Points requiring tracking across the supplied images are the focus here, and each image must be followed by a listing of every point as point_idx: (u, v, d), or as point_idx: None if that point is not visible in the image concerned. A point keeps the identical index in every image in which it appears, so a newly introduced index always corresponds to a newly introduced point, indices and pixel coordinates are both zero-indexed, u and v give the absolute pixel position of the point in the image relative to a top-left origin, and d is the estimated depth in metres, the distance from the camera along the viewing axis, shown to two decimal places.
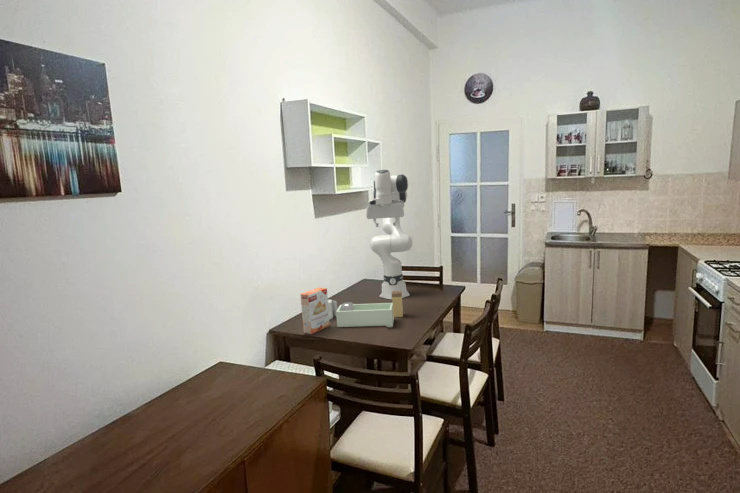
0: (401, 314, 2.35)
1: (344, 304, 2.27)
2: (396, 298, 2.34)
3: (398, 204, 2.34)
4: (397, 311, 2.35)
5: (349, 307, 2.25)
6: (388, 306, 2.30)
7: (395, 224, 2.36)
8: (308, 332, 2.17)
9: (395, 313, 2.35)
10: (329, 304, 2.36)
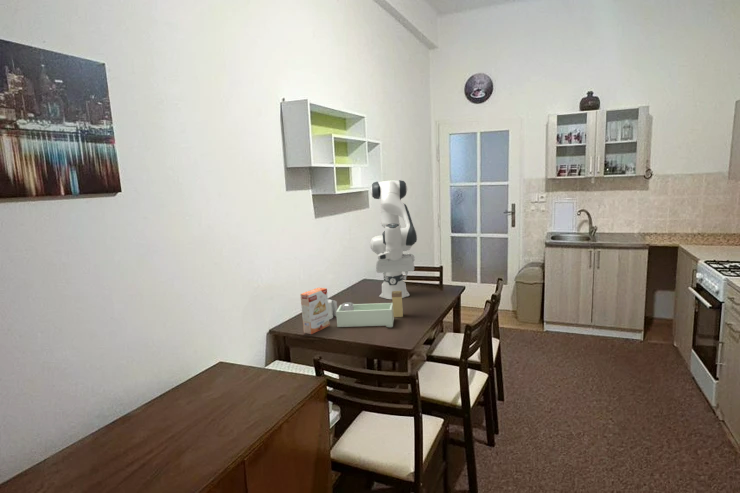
0: (401, 314, 2.35)
1: (344, 304, 2.27)
2: (396, 298, 2.34)
3: (408, 258, 2.30)
4: (397, 311, 2.35)
5: (349, 307, 2.25)
6: (388, 306, 2.30)
7: (405, 278, 2.33)
8: (308, 332, 2.17)
9: (395, 313, 2.35)
10: (329, 304, 2.36)
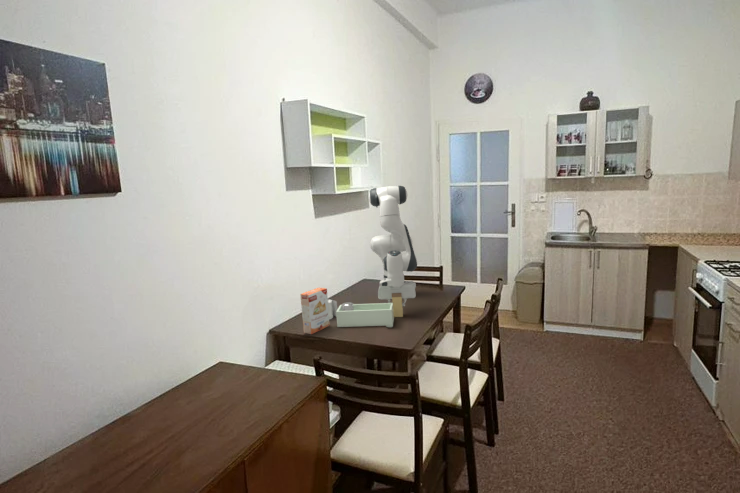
0: (401, 314, 2.35)
1: (344, 304, 2.27)
2: (396, 298, 2.34)
3: (410, 285, 2.33)
4: (397, 311, 2.35)
5: (349, 307, 2.25)
6: (388, 306, 2.30)
7: (404, 305, 2.36)
8: (308, 332, 2.17)
9: (395, 313, 2.35)
10: (329, 304, 2.36)
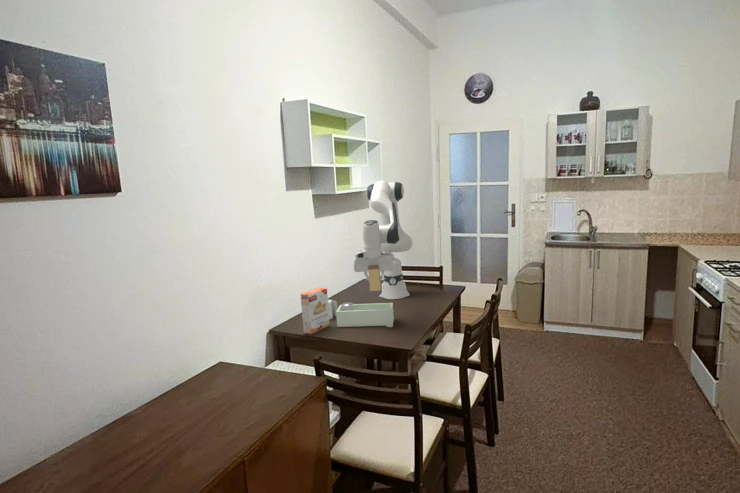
0: (378, 288, 2.21)
1: (344, 304, 2.27)
2: (373, 270, 2.20)
3: (387, 257, 2.19)
4: (374, 284, 2.21)
5: (349, 307, 2.25)
6: (388, 306, 2.30)
7: (381, 278, 2.22)
8: (308, 332, 2.17)
9: (372, 286, 2.22)
10: (329, 304, 2.36)
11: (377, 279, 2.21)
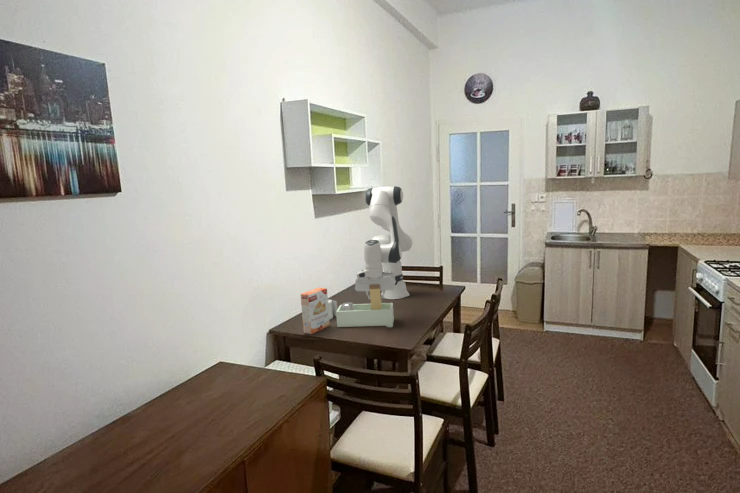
0: (379, 307, 2.23)
1: (344, 304, 2.27)
2: (374, 290, 2.22)
3: (388, 277, 2.21)
4: (375, 303, 2.23)
5: (349, 307, 2.25)
6: (388, 306, 2.30)
7: (382, 297, 2.24)
8: (308, 332, 2.17)
9: (373, 306, 2.23)
10: (329, 304, 2.36)
11: (378, 298, 2.22)
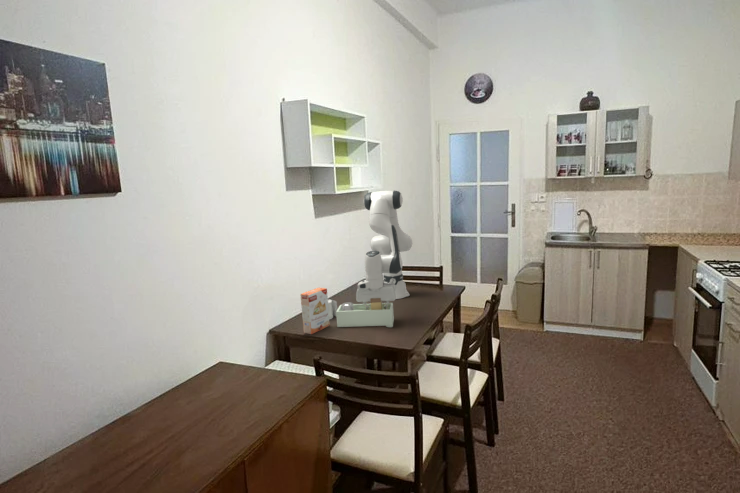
0: None
1: (344, 304, 2.27)
2: (375, 303, 2.23)
3: (389, 288, 2.22)
4: None
5: (349, 307, 2.25)
6: (388, 306, 2.30)
7: (386, 308, 2.25)
8: (308, 332, 2.17)
9: None
10: (329, 304, 2.36)
11: None
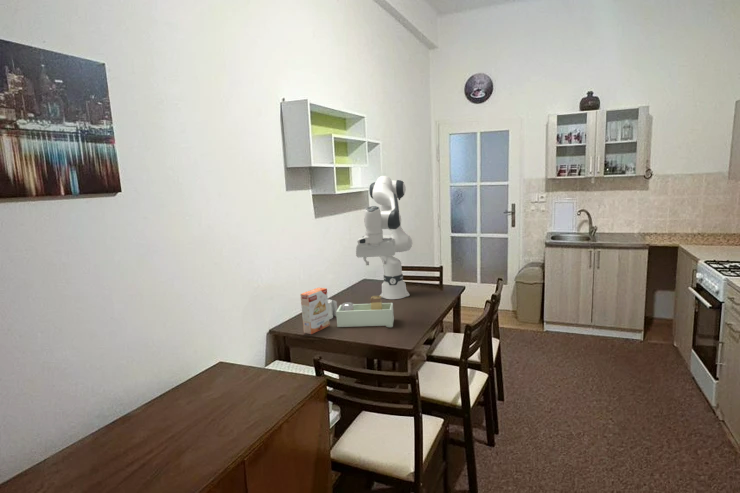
0: None
1: (344, 304, 2.27)
2: (375, 303, 2.23)
3: (389, 242, 2.24)
4: None
5: (349, 307, 2.25)
6: (388, 306, 2.30)
7: (386, 263, 2.27)
8: (308, 332, 2.17)
9: None
10: (329, 304, 2.36)
11: None
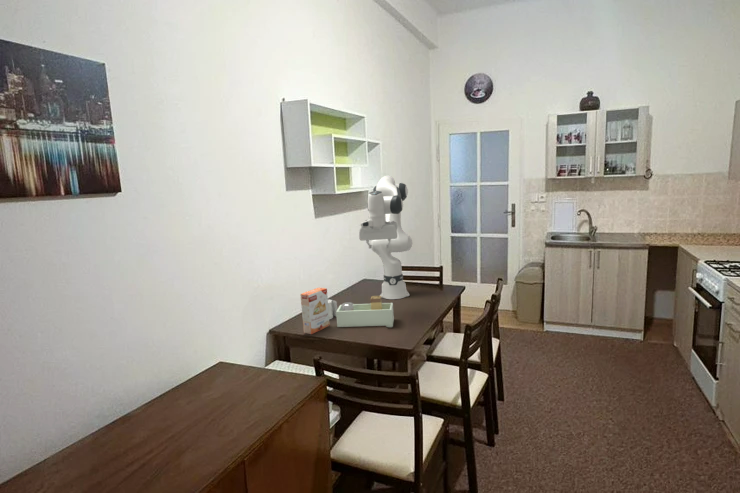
0: None
1: (344, 304, 2.27)
2: (375, 303, 2.23)
3: (391, 226, 2.31)
4: None
5: (349, 307, 2.25)
6: (388, 306, 2.30)
7: (388, 246, 2.33)
8: (308, 332, 2.17)
9: None
10: (329, 304, 2.36)
11: None
